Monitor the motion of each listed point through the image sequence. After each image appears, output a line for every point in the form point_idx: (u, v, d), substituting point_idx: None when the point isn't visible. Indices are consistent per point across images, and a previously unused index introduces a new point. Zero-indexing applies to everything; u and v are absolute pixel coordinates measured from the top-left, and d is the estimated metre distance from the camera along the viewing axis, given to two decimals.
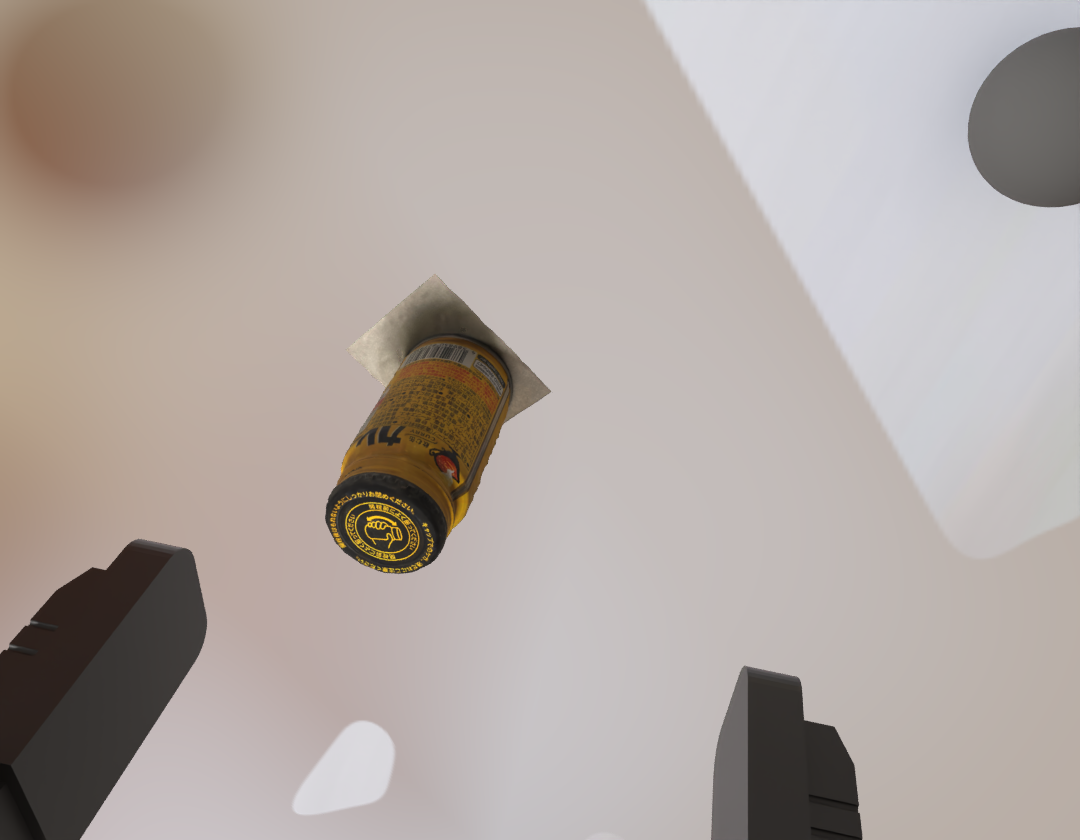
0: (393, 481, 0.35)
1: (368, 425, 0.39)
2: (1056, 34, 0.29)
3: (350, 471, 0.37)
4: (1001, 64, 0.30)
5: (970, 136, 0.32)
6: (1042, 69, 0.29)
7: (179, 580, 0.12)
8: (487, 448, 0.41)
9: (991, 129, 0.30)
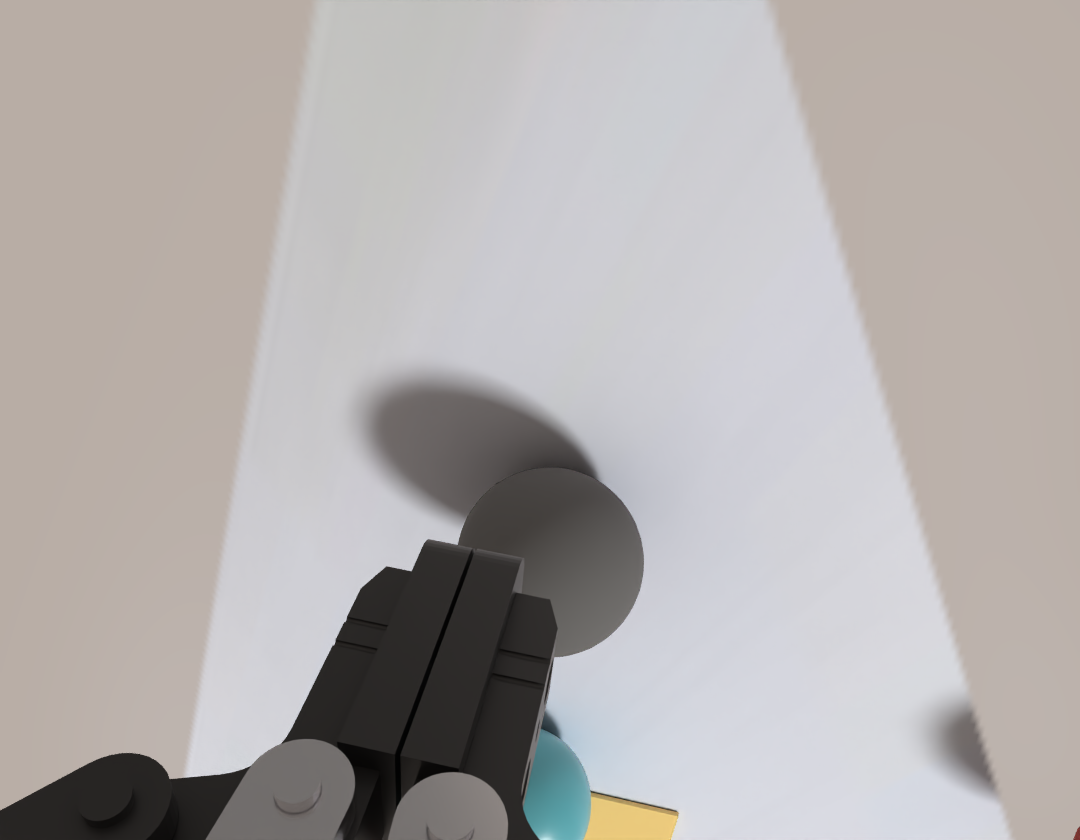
0: None
1: None
2: None
3: None
4: None
5: (642, 571, 0.27)
6: None
7: None
8: None
9: (625, 613, 0.27)
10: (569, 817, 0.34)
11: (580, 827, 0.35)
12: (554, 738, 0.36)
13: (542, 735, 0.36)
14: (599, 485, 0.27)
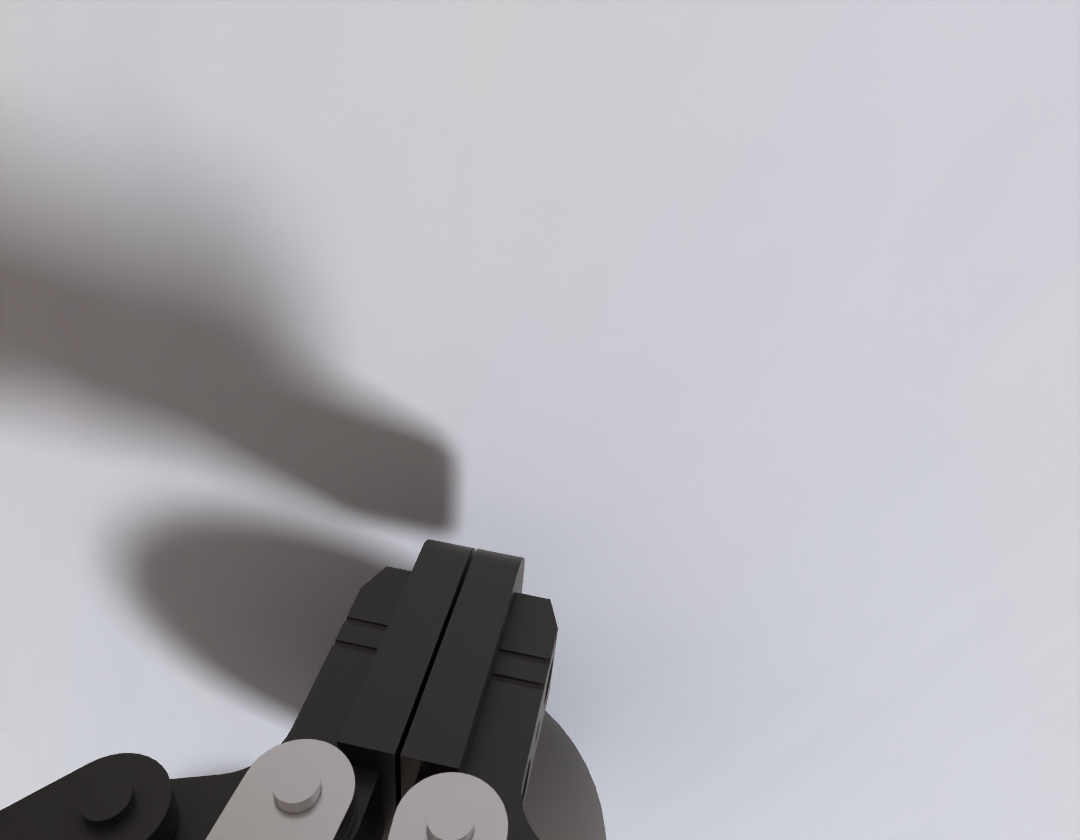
0: None
1: None
2: None
3: None
4: (584, 774, 0.15)
5: None
6: None
7: None
8: None
9: None
10: None
11: None
12: None
13: None
14: None
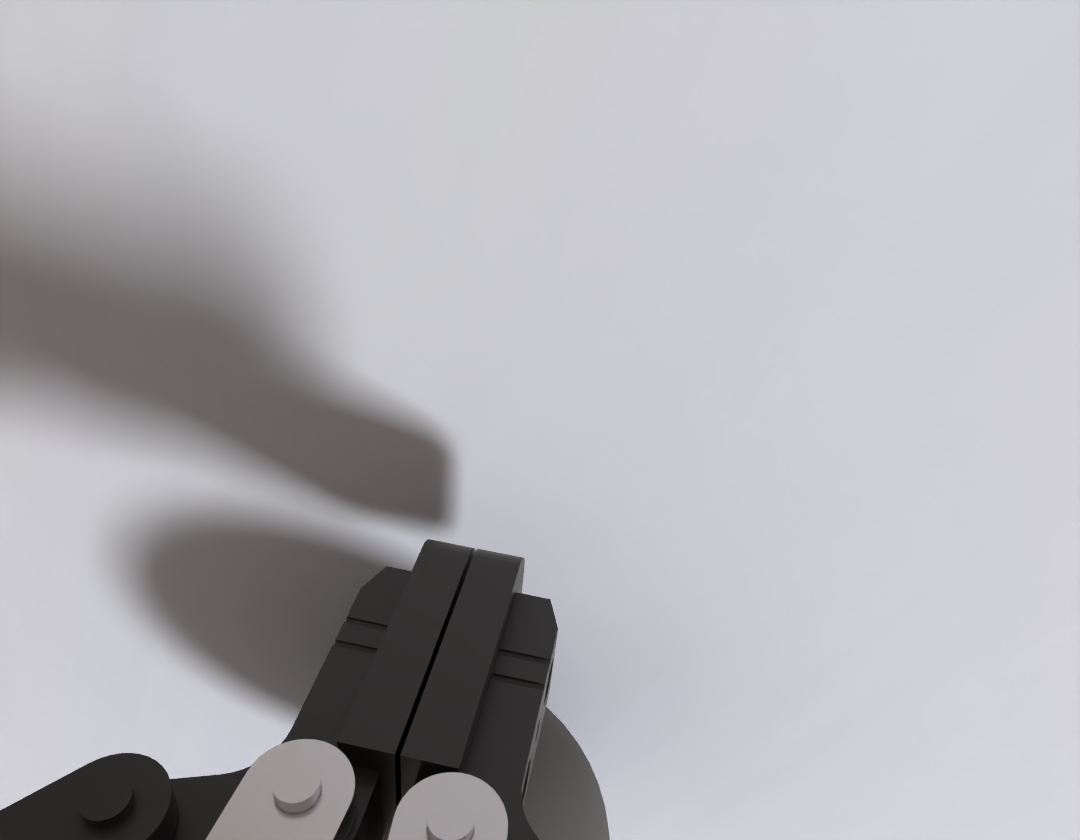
0: None
1: None
2: None
3: None
4: (587, 772, 0.15)
5: None
6: None
7: None
8: None
9: None
10: None
11: None
12: None
13: None
14: None
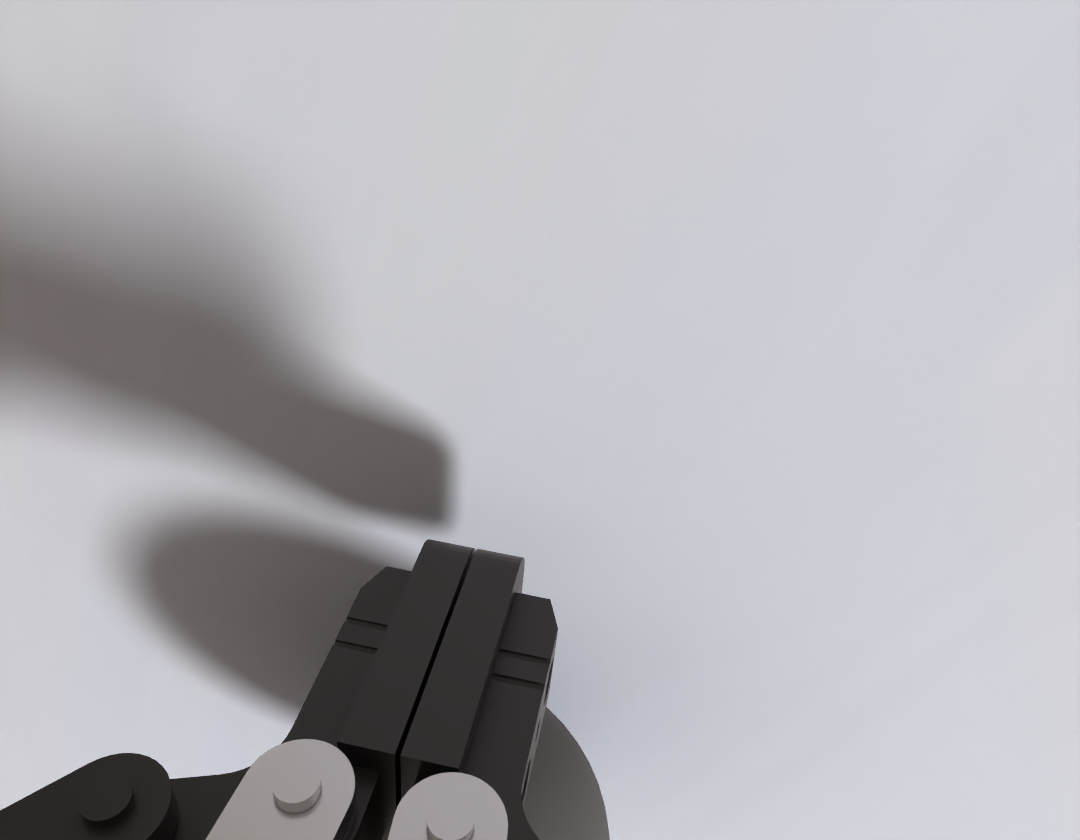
0: None
1: None
2: None
3: None
4: (587, 772, 0.15)
5: None
6: None
7: None
8: None
9: None
10: None
11: None
12: None
13: None
14: None
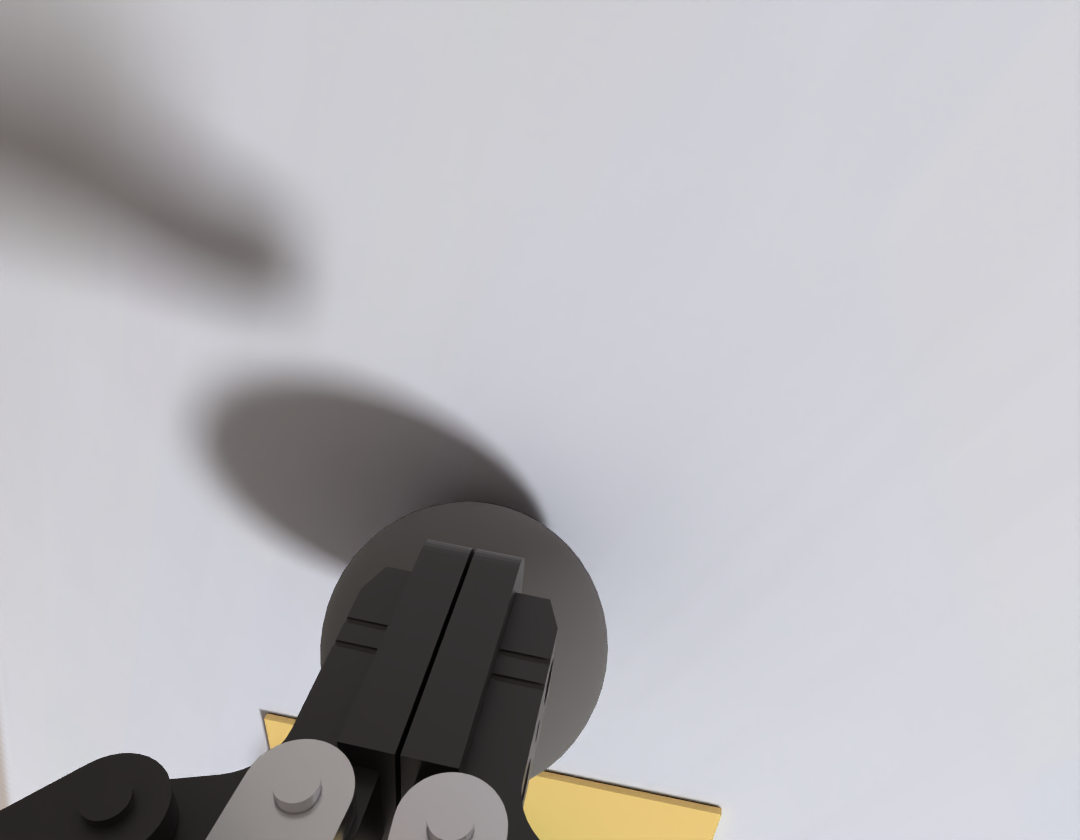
0: None
1: None
2: (530, 517, 0.19)
3: None
4: (588, 577, 0.18)
5: (598, 695, 0.18)
6: None
7: None
8: None
9: None
10: None
11: None
12: None
13: None
14: None
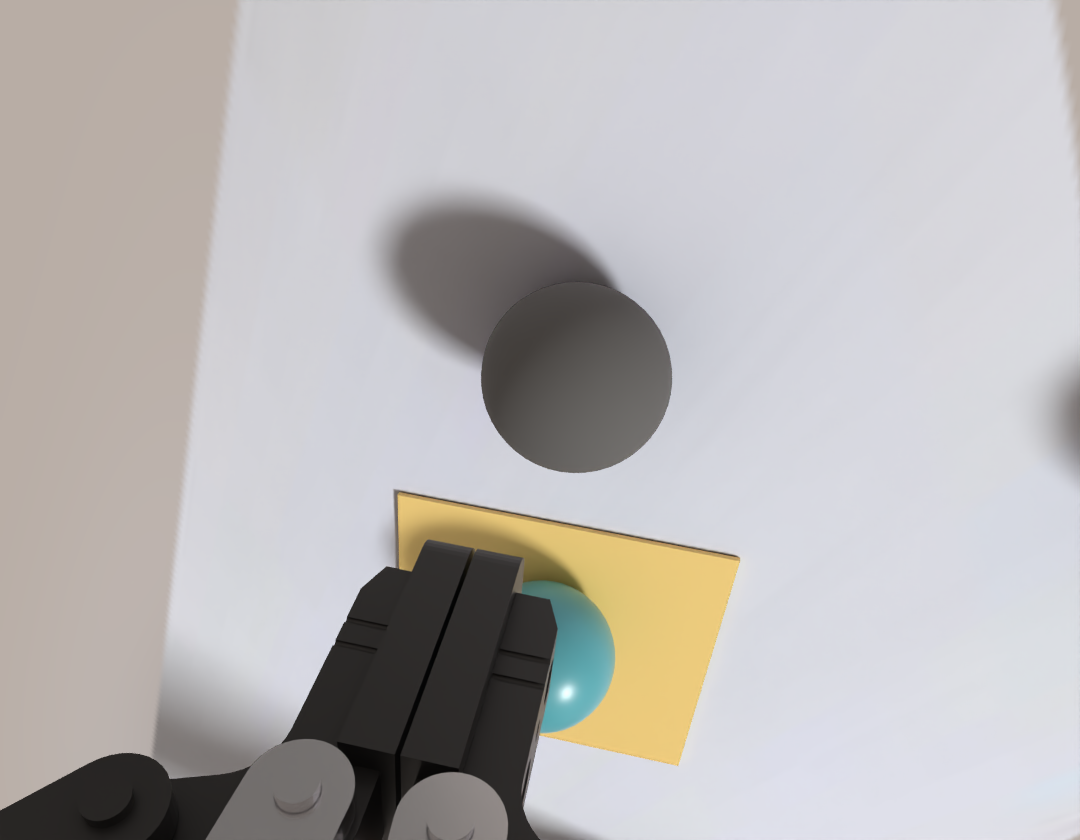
0: None
1: None
2: None
3: None
4: None
5: (665, 410, 0.27)
6: None
7: None
8: None
9: None
10: None
11: None
12: (550, 727, 0.33)
13: None
14: (593, 460, 0.26)
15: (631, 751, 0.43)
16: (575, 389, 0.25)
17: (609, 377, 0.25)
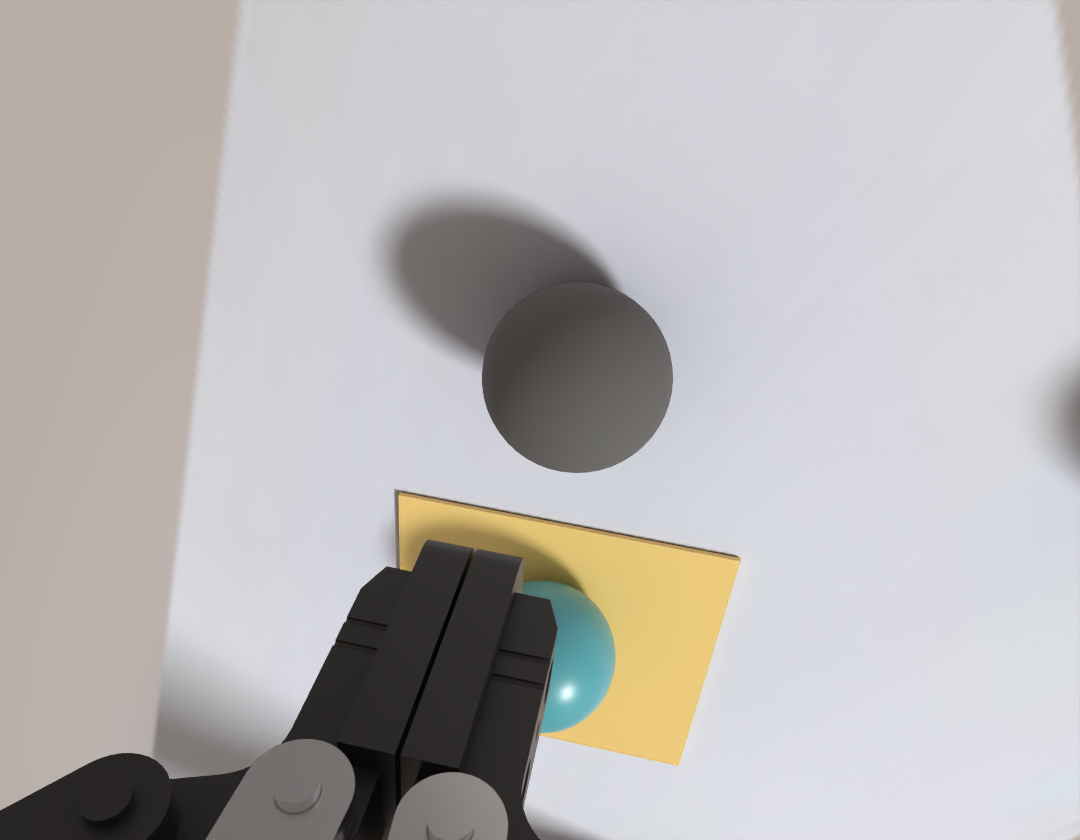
0: None
1: None
2: None
3: None
4: (660, 331, 0.27)
5: (666, 410, 0.27)
6: None
7: None
8: None
9: None
10: None
11: None
12: (550, 727, 0.34)
13: None
14: (594, 460, 0.26)
15: (631, 751, 0.43)
16: (576, 389, 0.25)
17: (610, 377, 0.25)
